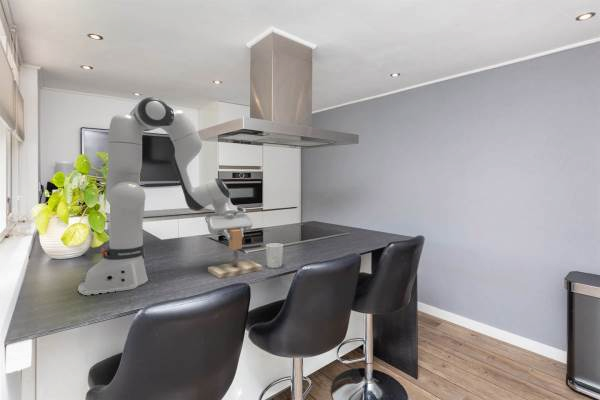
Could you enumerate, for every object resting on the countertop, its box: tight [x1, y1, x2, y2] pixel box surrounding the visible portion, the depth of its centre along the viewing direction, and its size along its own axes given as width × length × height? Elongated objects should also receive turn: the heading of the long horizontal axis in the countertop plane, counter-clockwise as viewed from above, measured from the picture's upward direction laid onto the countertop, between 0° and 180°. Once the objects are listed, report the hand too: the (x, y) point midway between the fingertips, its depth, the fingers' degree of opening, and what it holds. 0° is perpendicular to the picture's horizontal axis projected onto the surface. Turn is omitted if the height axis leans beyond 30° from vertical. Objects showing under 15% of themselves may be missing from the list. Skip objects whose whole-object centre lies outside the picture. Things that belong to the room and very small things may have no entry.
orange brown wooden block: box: [228, 229, 243, 251], centre depth 132 cm, size 4×4×8 cm
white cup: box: [265, 242, 284, 269], centre depth 140 cm, size 8×8×10 cm
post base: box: [207, 250, 263, 280], centre depth 132 cm, size 20×12×9 cm, turn 129°
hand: (236, 238), depth 131 cm, fingers closed on orange brown wooden block, 4 cm apart
